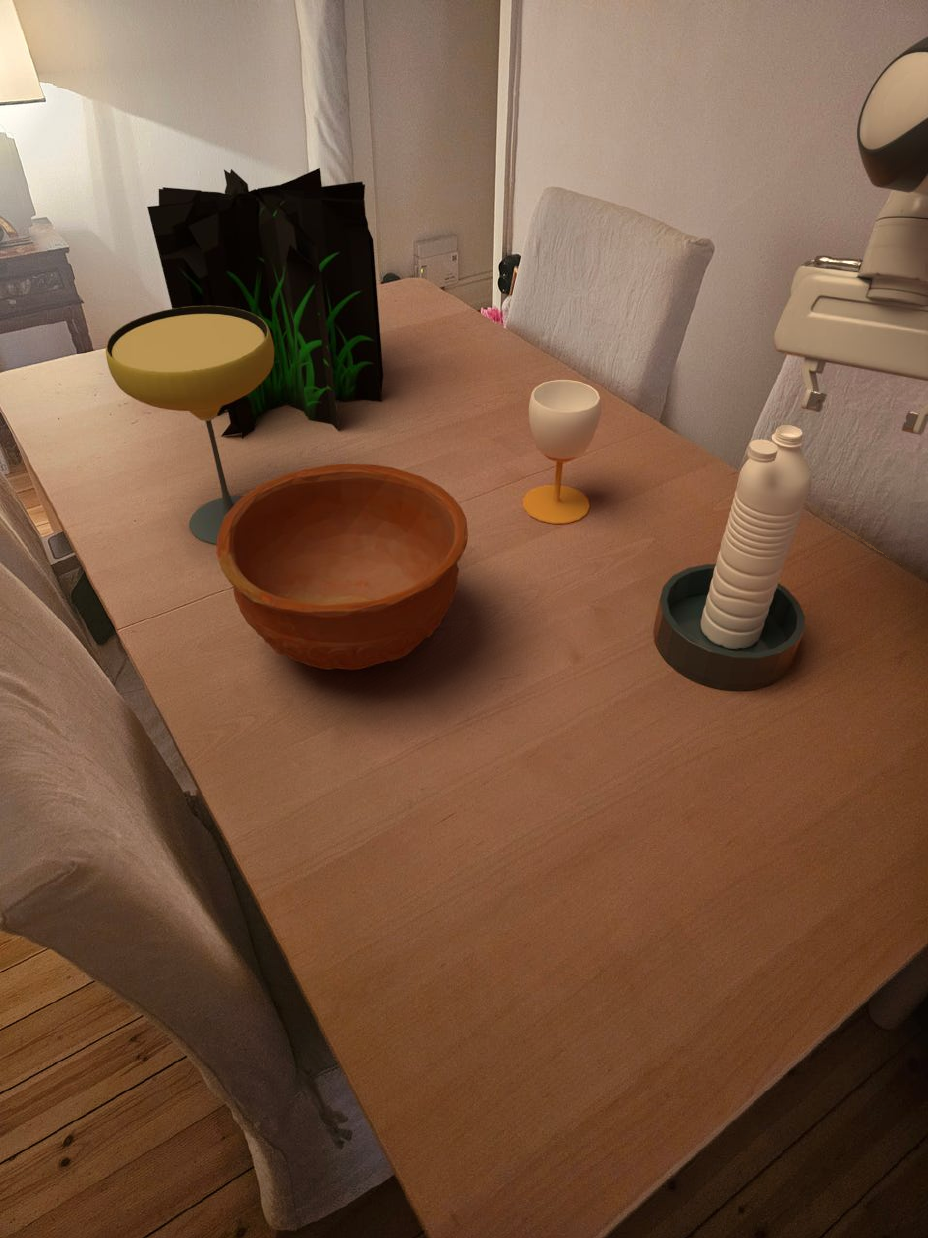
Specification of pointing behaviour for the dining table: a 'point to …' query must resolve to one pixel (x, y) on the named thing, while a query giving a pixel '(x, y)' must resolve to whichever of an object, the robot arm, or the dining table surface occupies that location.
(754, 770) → the dining table surface
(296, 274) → the decorative plant
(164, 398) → the cocktail glass
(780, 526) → the water bottle
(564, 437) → the cup
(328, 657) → the bowl
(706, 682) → the holder
